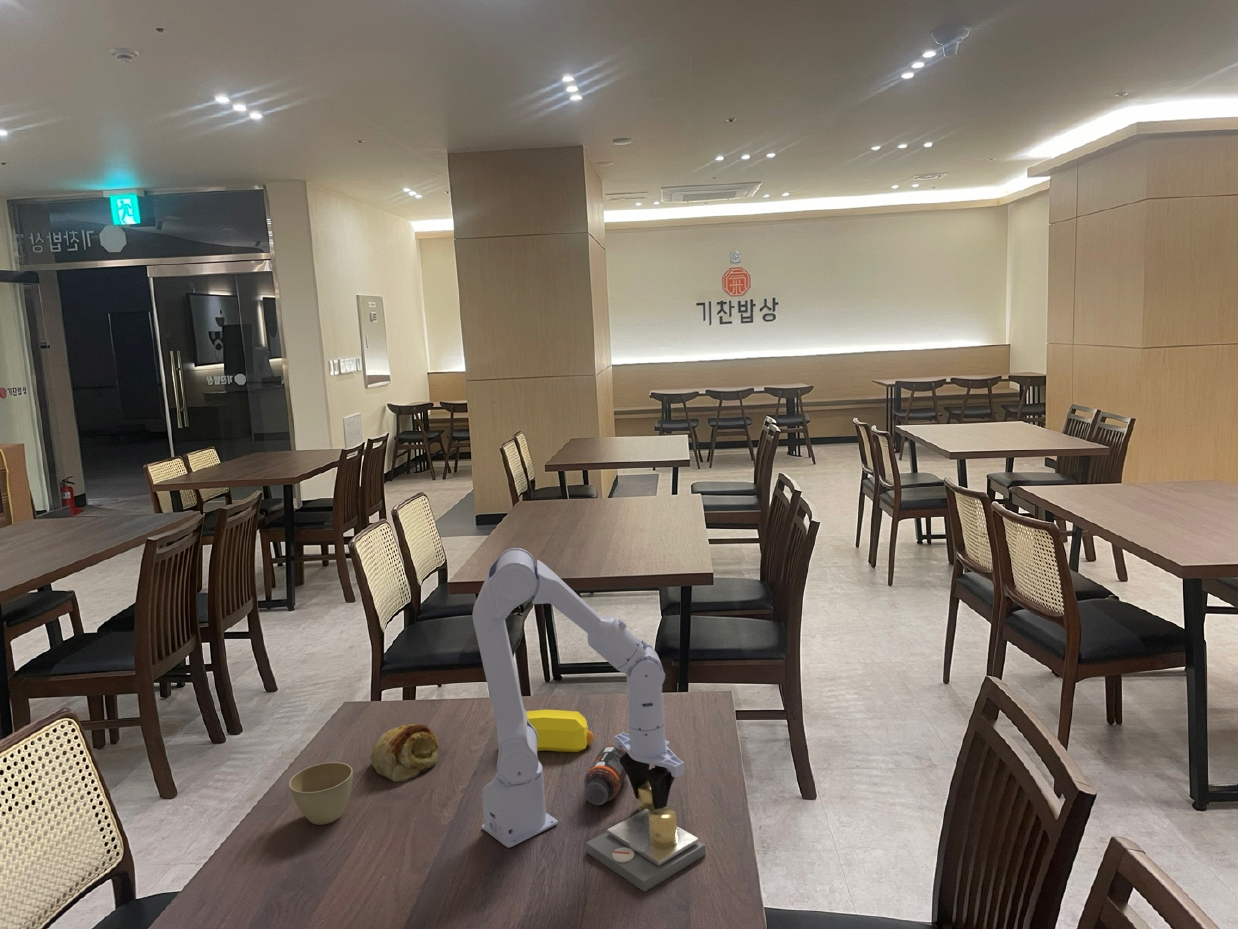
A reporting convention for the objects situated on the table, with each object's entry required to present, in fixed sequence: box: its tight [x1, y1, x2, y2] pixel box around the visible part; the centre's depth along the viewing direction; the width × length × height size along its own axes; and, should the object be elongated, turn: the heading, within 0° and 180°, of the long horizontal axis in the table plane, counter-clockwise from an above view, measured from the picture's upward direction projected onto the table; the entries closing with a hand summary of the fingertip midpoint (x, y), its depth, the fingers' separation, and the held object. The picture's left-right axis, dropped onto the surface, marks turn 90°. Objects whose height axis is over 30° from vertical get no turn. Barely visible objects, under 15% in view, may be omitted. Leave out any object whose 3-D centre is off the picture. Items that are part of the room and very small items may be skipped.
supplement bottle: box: [583, 744, 628, 806], centre depth 146 cm, size 6×6×11 cm
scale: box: [585, 831, 706, 893], centre depth 129 cm, size 12×13×2 cm
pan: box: [606, 809, 700, 866], centre depth 130 cm, size 8×11×1 cm
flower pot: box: [288, 761, 354, 826], centre depth 144 cm, size 10×10×7 cm
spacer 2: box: [649, 807, 677, 849], centre depth 127 cm, size 4×4×4 cm
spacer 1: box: [638, 781, 655, 813], centre depth 140 cm, size 4×4×4 cm
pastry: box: [370, 723, 440, 783], centre depth 161 cm, size 14×12×8 cm
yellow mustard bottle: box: [526, 709, 595, 753], centre depth 164 cm, size 18×7×8 cm
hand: (651, 802), depth 140 cm, fingers closed on spacer 1, 4 cm apart
